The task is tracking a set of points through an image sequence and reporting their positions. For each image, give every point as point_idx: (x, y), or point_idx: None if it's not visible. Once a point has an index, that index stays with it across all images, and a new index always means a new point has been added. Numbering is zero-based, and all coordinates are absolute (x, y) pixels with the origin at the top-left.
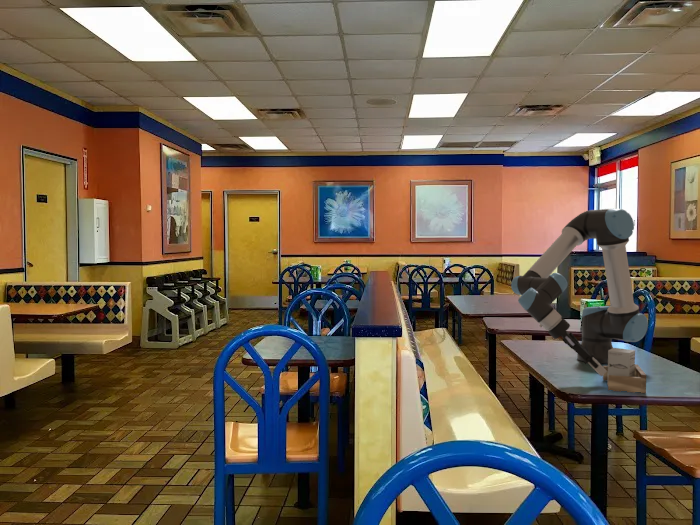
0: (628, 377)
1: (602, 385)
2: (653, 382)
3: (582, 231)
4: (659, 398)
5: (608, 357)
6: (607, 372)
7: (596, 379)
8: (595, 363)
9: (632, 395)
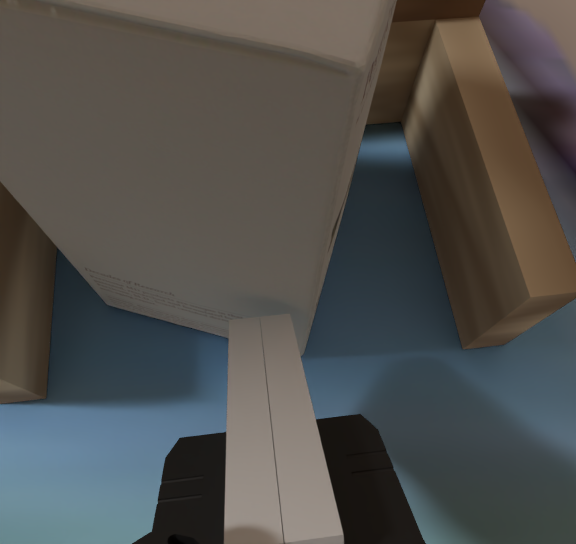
0: (513, 107)
1: None
2: None
3: None
4: (523, 34)
5: (337, 184)
6: (5, 334)
7: (25, 477)
8: (393, 473)
9: (551, 173)
